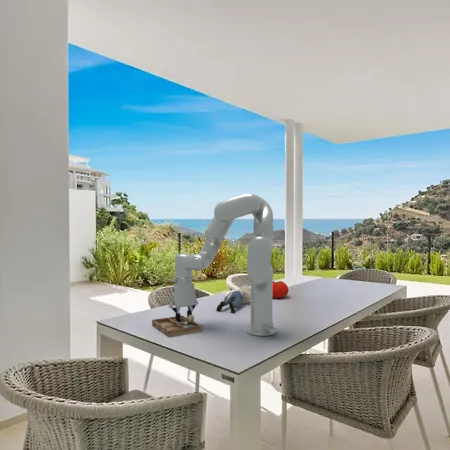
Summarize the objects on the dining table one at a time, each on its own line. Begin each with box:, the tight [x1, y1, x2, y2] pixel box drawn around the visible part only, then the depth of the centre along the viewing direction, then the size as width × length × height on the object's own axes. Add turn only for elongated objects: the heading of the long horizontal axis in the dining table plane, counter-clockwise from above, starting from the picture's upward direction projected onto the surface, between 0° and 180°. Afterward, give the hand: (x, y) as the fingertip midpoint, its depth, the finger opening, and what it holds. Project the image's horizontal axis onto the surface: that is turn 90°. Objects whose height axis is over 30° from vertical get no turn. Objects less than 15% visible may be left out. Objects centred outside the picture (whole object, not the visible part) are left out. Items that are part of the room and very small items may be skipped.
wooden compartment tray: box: [151, 315, 203, 338], centre depth 170 cm, size 21×15×2 cm
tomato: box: [272, 280, 289, 299], centre depth 236 cm, size 14×16×10 cm
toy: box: [216, 284, 251, 314], centre depth 211 cm, size 23×10×30 cm
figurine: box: [172, 314, 195, 325], centre depth 172 cm, size 4×4×15 cm
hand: (183, 320), depth 172 cm, fingers open, 4 cm apart
